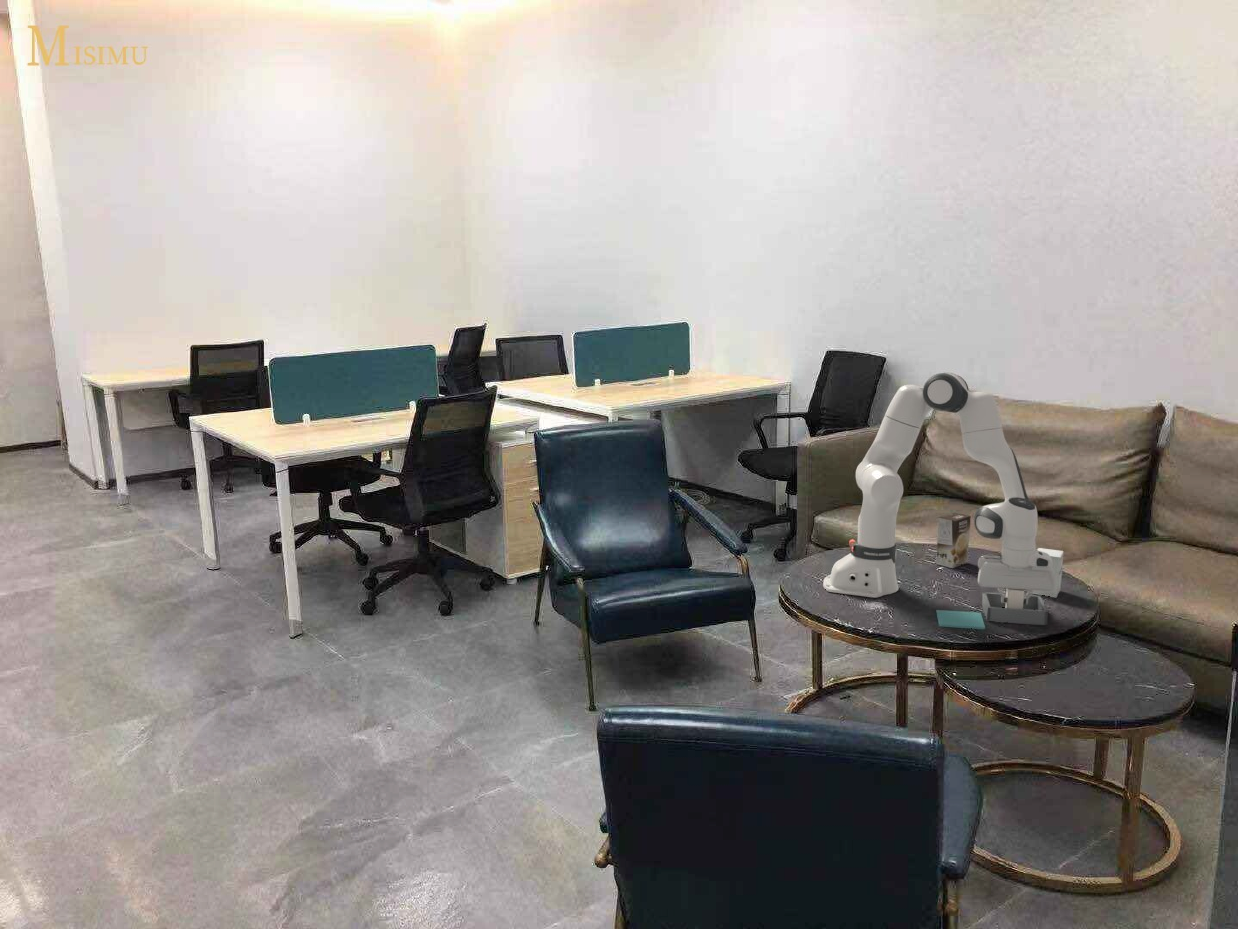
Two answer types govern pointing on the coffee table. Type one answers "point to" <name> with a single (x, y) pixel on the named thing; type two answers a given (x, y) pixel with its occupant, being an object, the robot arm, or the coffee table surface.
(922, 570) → the coffee table surface
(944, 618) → the mat
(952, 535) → the coffee box
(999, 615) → the crate
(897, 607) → the coffee table surface
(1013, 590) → the block
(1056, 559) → the supplement box
